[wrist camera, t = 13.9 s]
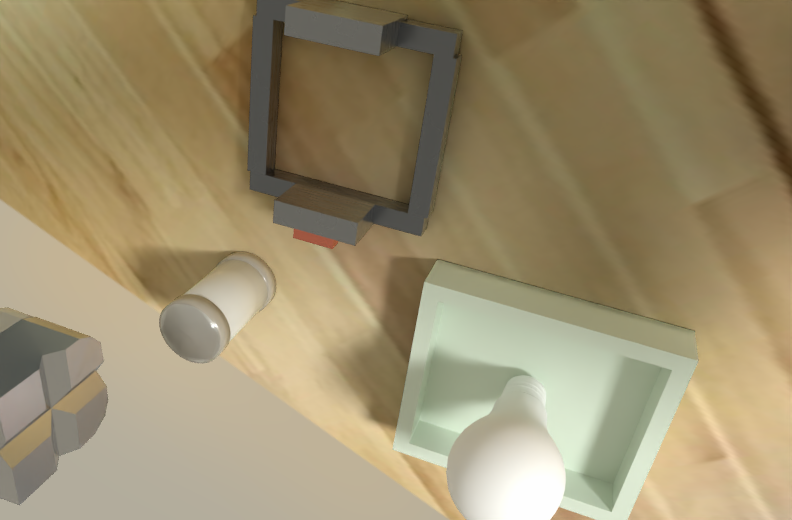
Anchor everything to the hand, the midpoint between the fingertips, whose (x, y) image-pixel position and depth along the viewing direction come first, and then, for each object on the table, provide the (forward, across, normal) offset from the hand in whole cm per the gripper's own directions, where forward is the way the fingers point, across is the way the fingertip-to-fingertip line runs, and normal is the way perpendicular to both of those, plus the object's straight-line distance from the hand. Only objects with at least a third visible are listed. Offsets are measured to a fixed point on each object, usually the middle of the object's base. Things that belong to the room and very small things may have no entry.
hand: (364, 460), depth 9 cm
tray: (+29, -2, +20) cm, 35 cm away
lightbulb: (+29, -2, +20) cm, 35 cm away
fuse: (+29, +18, +18) cm, 39 cm away
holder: (+29, +11, +5) cm, 32 cm away
